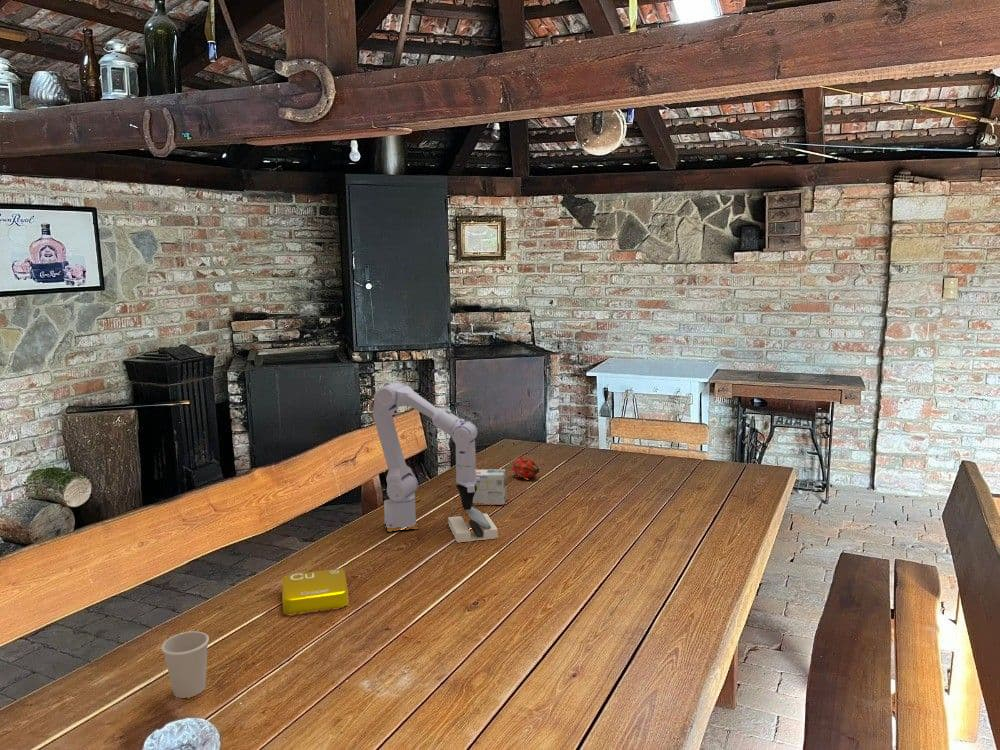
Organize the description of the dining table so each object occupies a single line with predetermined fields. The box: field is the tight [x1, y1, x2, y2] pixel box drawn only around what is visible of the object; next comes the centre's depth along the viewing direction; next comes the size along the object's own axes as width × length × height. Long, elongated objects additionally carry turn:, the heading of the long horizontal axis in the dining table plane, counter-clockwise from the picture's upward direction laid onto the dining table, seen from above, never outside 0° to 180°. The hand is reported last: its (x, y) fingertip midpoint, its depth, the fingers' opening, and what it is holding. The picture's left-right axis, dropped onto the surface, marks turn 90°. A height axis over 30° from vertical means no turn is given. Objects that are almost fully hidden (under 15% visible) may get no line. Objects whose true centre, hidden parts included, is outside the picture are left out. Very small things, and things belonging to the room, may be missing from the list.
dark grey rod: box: [468, 518, 483, 537], centre depth 222 cm, size 2×10×2 cm
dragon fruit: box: [510, 456, 540, 479], centre depth 275 cm, size 8×8×12 cm
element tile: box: [281, 567, 349, 614], centre depth 182 cm, size 15×15×5 cm
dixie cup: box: [160, 630, 210, 698], centre depth 143 cm, size 8×8×10 cm
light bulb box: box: [472, 468, 507, 505], centre depth 248 cm, size 11×7×11 cm, turn 84°
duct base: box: [447, 513, 499, 542], centre depth 222 cm, size 12×14×3 cm
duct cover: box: [465, 506, 491, 529], centre depth 222 cm, size 6×13×1 cm
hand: (467, 508), depth 221 cm, fingers closed
